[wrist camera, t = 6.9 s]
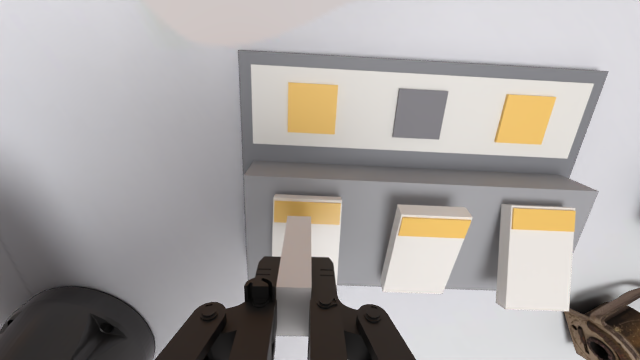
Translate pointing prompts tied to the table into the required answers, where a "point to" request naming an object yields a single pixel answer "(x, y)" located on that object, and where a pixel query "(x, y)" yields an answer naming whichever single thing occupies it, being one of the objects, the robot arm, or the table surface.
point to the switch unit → (410, 148)
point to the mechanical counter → (607, 330)
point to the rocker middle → (423, 248)
